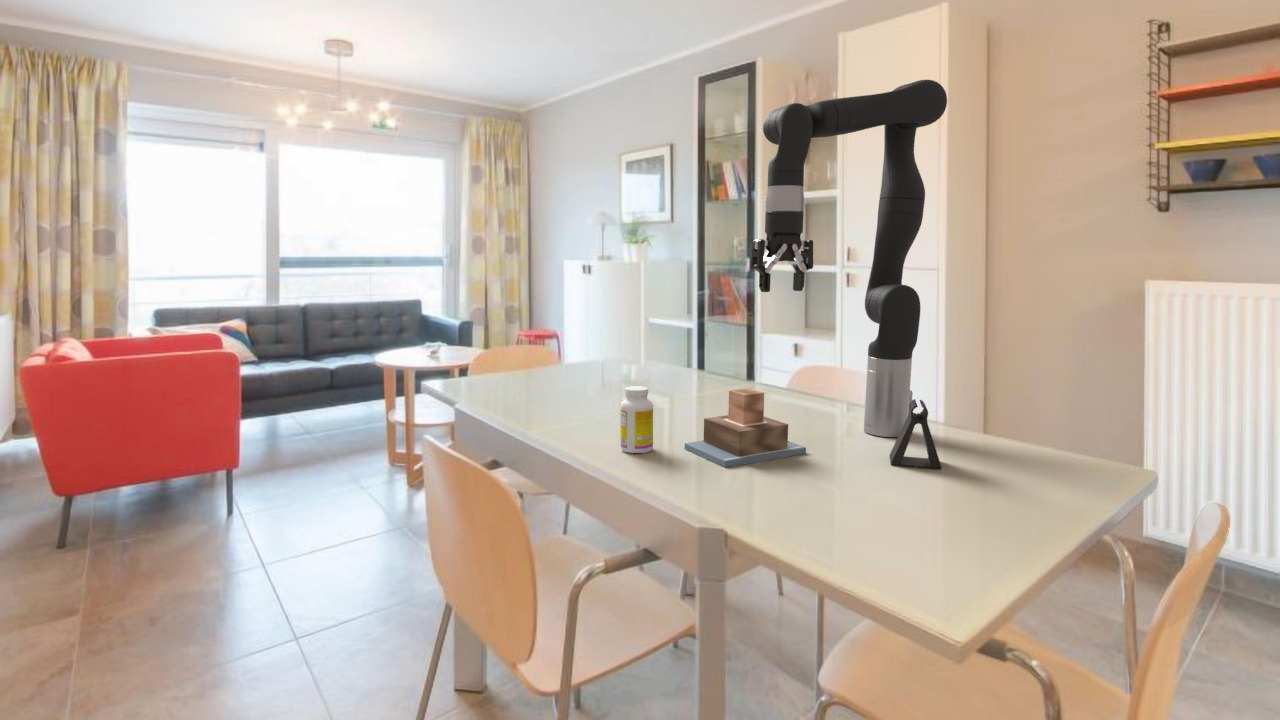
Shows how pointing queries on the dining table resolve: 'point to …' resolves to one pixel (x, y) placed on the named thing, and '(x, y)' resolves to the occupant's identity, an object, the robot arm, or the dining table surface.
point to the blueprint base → (733, 462)
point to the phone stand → (904, 437)
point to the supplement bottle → (636, 421)
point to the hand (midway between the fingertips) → (781, 291)
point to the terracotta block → (746, 406)
